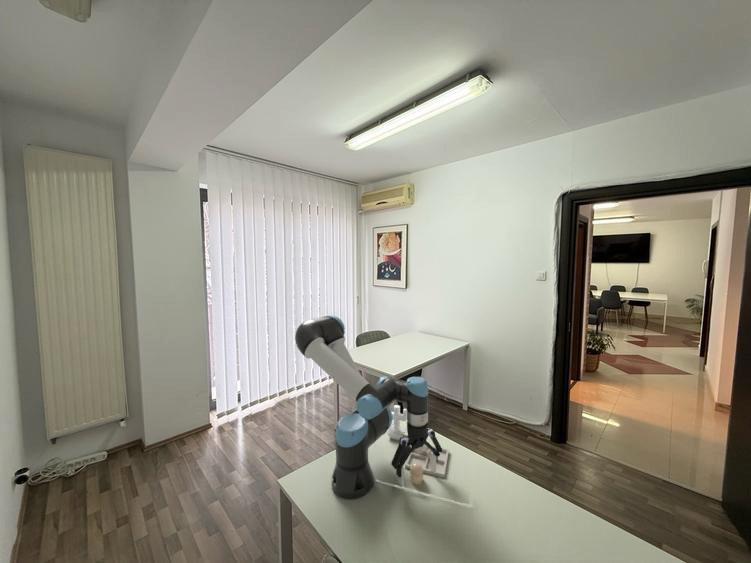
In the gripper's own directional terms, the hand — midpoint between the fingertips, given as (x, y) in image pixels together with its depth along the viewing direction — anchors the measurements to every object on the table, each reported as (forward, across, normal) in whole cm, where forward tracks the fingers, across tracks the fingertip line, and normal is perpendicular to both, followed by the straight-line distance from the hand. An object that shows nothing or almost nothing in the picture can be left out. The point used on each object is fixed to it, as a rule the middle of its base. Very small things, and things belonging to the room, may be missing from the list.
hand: (417, 477), depth 106 cm
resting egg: (+1, +10, +12) cm, 16 cm away
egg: (+2, 0, +1) cm, 2 cm away
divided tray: (+2, +10, +8) cm, 13 cm away
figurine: (+2, +7, +27) cm, 28 cm away
